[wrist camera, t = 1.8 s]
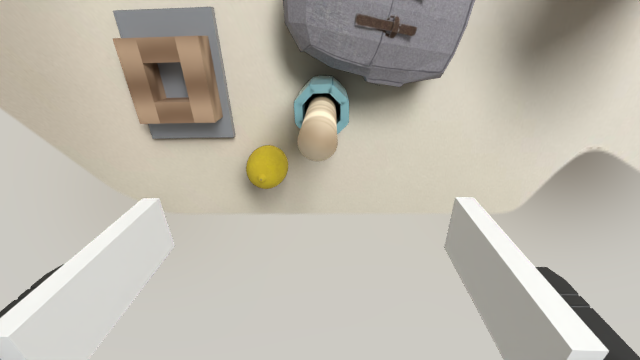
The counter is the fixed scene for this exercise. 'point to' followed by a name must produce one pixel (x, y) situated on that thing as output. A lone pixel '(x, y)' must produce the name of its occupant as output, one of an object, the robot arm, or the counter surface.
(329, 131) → the dowel
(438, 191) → the counter surface
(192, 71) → the frame
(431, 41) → the grey rounded bag
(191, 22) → the tray
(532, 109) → the counter surface
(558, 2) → the counter surface
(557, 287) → the robot arm
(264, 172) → the lemon
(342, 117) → the cup
